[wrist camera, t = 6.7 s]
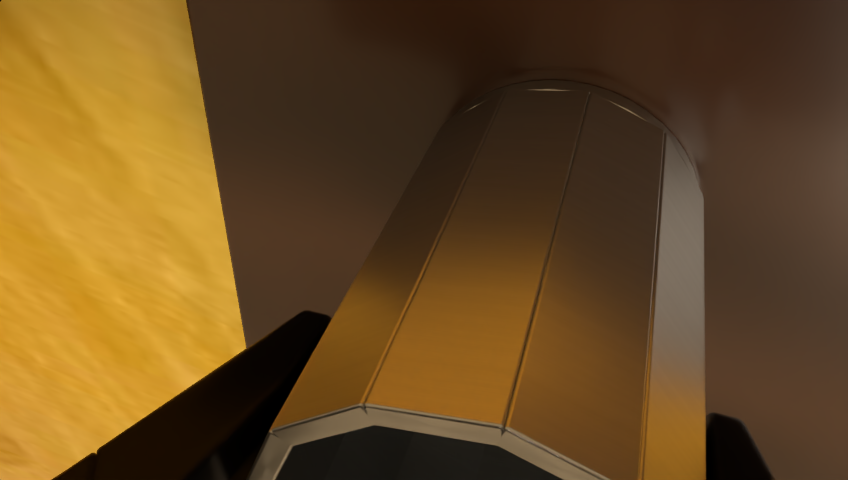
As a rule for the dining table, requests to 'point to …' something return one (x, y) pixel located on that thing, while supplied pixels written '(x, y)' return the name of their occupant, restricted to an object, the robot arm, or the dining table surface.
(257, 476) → the cup
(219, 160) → the cabinet
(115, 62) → the dining table surface
